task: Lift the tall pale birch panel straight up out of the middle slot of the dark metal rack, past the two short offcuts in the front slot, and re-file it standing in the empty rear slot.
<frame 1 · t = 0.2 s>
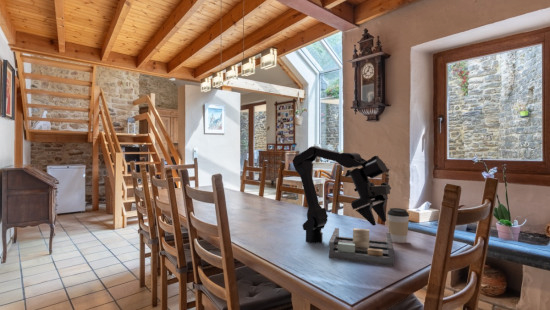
hand: (380, 223, 106), 14 cm above the table, tool tilted 30°, fingers open, 9 cm apart
coffee cup: (397, 242, 130), on the table
offcut a: (346, 257, 109), point 1 cm above the table, touching rack
offcut b: (374, 260, 106), point 1 cm above the table, touching rack
birch panel: (360, 252, 114), point 1 cm above the table, touching rack
rack: (360, 255, 114), on the table
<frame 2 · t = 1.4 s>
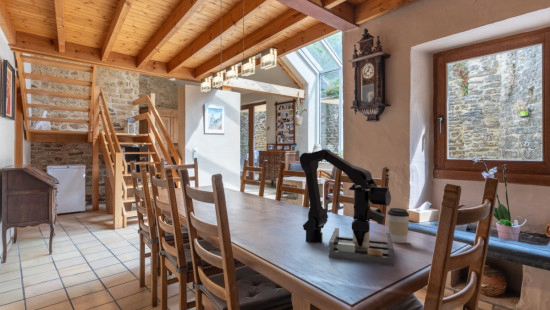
hand: (360, 242, 114), 5 cm above the table, tool pointing down, fingers open, 9 cm apart
nothing on the table moved.
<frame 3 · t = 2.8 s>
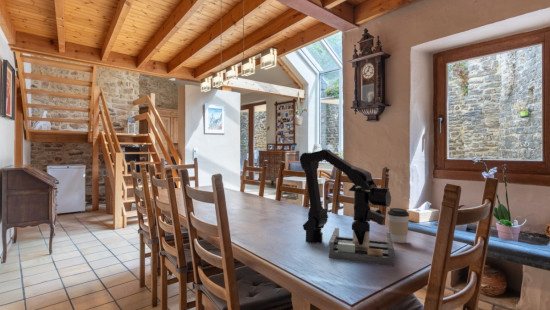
hand: (361, 243, 114), 5 cm above the table, tool pointing down, fingers closed on birch panel, 2 cm apart
birch panel: (360, 252, 114), point 1 cm above the table, touching gripper, rack
everything else where it was.
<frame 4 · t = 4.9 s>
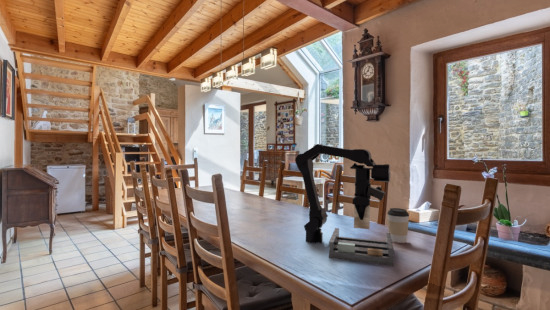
hand: (361, 219, 119), 13 cm above the table, tool pointing down, fingers closed on birch panel
birch panel: (361, 227, 119), point 9 cm above the table, touching gripper
everything else where it was.
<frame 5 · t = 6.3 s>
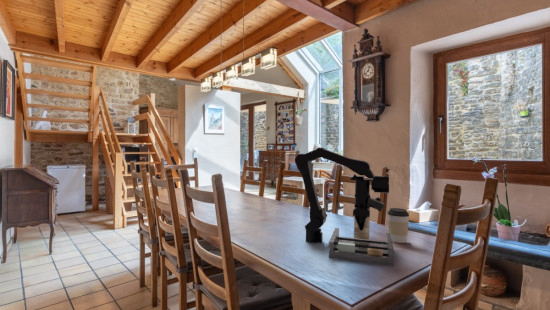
hand: (361, 229, 121), 8 cm above the table, tool pointing down, fingers closed on birch panel
birch panel: (361, 238, 121), point 5 cm above the table, touching gripper
everything else where it was.
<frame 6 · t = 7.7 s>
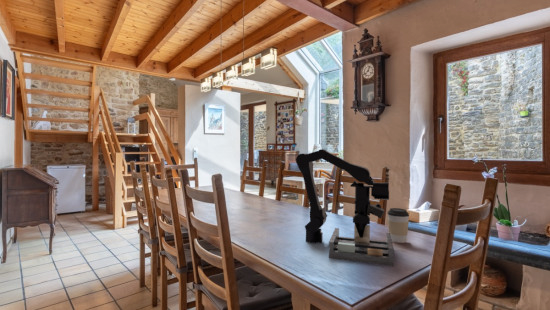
hand: (361, 236, 121), 5 cm above the table, tool pointing down, fingers open, 4 cm apart
birch panel: (361, 247, 121), point 1 cm above the table, touching rack
everything else where it was.
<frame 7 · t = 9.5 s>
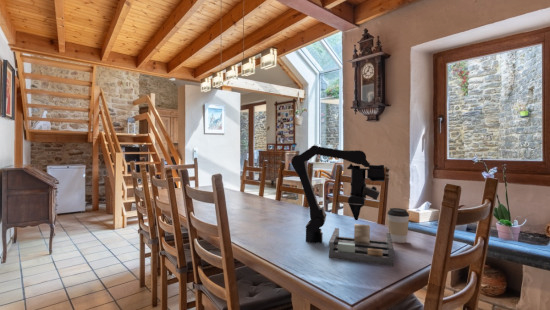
hand: (357, 217, 123), 12 cm above the table, tool pointing down, fingers open, 9 cm apart
nothing on the table moved.
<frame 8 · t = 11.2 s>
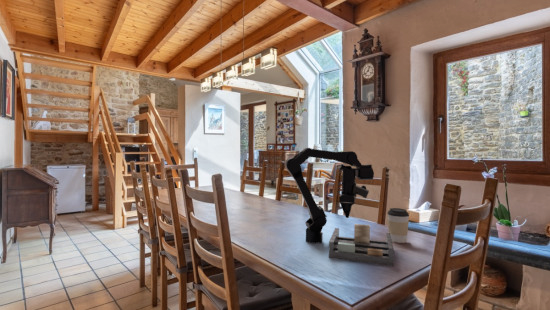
hand: (348, 215, 129), 12 cm above the table, tool pointing down, fingers open, 9 cm apart
nothing on the table moved.
at the end: birch panel 0.1 cm from the target spot on the rack, point 1.0 cm above the rack's base; birch panel tilted 0°; offcut a moved 0.0 cm from its start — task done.
